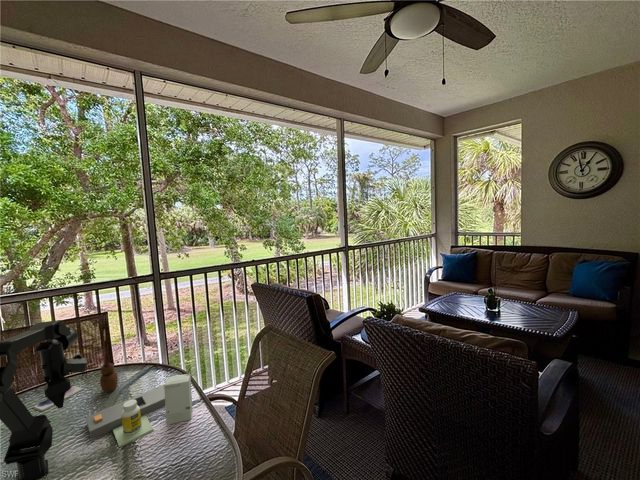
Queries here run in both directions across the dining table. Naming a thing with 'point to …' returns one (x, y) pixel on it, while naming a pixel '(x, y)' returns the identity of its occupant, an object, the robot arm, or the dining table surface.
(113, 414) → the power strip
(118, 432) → the pad
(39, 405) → the smartphone
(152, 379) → the dining table surface
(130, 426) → the supplement bottle
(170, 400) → the skincare box
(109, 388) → the wooden figurine
